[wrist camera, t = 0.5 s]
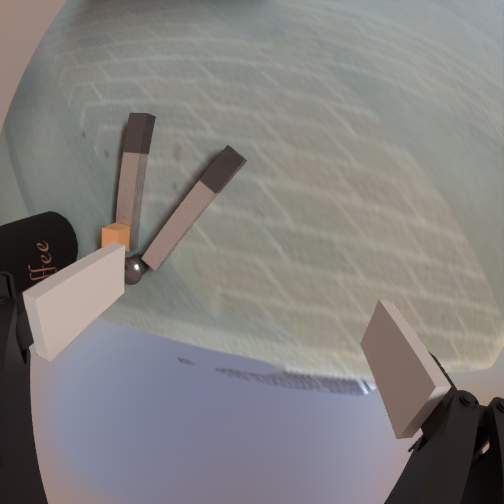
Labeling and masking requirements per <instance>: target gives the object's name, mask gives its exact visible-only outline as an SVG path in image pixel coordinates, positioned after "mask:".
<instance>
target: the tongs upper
mask: <svg viewBox="0 0 504 504" xmlns="http://www.w3.org/2000/svg"><path fill="white" fill-rule="evenodd" d="M246 161H247V160H246V159H245V158H244V157H242V156H241V155H240V154H239V153H238V152H236V151H235V150H234V149H233V148H232V147H230V146H228V145H227V147H226V148H225V149H224V150H223V151H222V152H221V154H220V155H219V156H218V157H217V158H216V160H215V161H214V162H213V163H212V164H211V166H210V167H209V168H208V169H207V170H206V172H205V173H204V174H203V175H202V177H201V178H200V179H199V181H198V182H197V184H196V185H195V186H194V187H193V189H192V190H191V191H190V193H189V194H188V195H187V196H186V198H185V199H184V200H183V202H182V203H181V204H180V206H179V207H178V208H177V209H176V211H175V212H174V213H173V215H172V216H171V217H170V219H169V220H168V222H167V223H166V224H165V226H164V227H163V228H162V230H161V231H160V233H159V234H158V235H157V237H156V238H155V240H154V241H153V242H152V244H151V245H150V247H149V248H148V250H147V251H146V252H145V254H144V255H143V257H142V258H141V259H142V260H143V261H144V262H146V263H147V264H148V265H149V266H150V267H151V268H152V269H153V270H155V271H156V270H157V269H158V268H159V267H160V266H161V265H162V264H163V263H164V262H165V260H166V259H167V258H168V256H169V255H170V254H171V252H172V251H173V250H174V248H175V247H176V246H177V245H178V243H179V242H180V241H181V239H182V238H183V237H184V235H185V234H186V233H187V232H188V230H189V229H190V228H191V227H192V225H193V224H194V223H195V222H196V220H197V219H198V218H199V217H200V215H201V214H202V213H203V212H204V210H205V209H206V208H207V207H208V205H209V204H210V203H211V202H212V201H213V199H214V198H215V197H216V196H217V195H218V193H219V192H221V190H222V189H223V188H224V187H225V186H226V185H227V183H228V182H229V181H230V180H231V179H232V177H233V176H234V175H235V174H236V173H237V172H238V171H239V169H240V168H241V167H242V166H243V165H244V164H245V163H246Z"/></svg>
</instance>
